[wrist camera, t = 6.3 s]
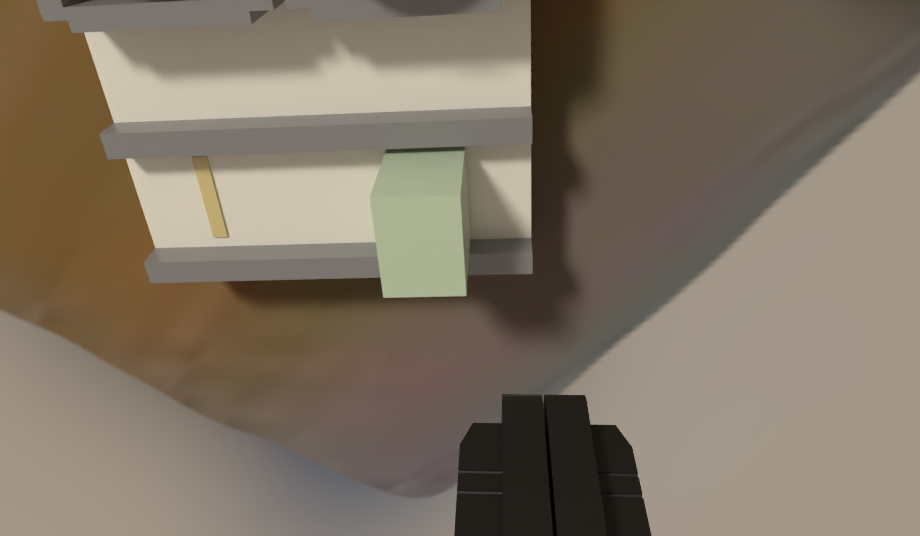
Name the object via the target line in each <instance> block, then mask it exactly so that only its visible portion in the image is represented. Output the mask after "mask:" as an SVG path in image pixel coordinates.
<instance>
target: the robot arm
mask: <svg viewBox="0 0 920 536" xmlns="http://www.w3.org/2000/svg"><path fill="white" fill-rule="evenodd" d="M458 470H459V472H458V486H457V502H456V518H455V536H651V532H650V527H649V523H648V518H647V513H646V509H645V504H644V500H643V499H642V491H641V486H640V481H639V478H638V472H637V468H636V463H635V458H634V454H633V449H632V446H631V445H630V444H629V443H628V441H627V440H626V439H625V438H624V436H623V435H622V433H621V432H620V431H619V429H618V428H617V427H616V425H590V420H589V413H588V407H587V401H586V397H585V395H544V404H543V401H542V395H519V394H502V423H473V424H472V425H471V427H470V429H469V430H468V432H467V434H466V435H465V437H464V439H463V440H462V442H461V444H460V453H459V469H458Z"/></svg>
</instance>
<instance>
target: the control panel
mask: <svg viewBox="0 0 920 536" xmlns="http://www.w3.org/2000/svg"><path fill="white" fill-rule="evenodd" d="M36 1H37V4H38V7H39V10H40V12H41V15H42V18H43V21H44V22H45V21H65V20H68V23H69V26H70V29H71V32H72V33H85V36H86V39H87V42H88V45H89V48H90V51H91V54H92V57H93V60H94V63H95V66H96V70H97V73H98V76H99V79H100V82H101V85H102V88H103V91H104V94H105V97H106V100H107V103H108V106H109V109H110V112H111V115H112V118H113V121H114V123H113V124H112V125H111V126H109V127H108V128H107V129H105V130H104V131H103V132H101V133H100V134H99V135H100V138H101V141H102V144H103V147H104V150H105V153H106V155H107V158H108V159H126V160H127V163H128V166H129V169H130V172H131V175H132V178H133V181H134V184H135V188H136V191H137V194H138V197H139V200H140V203H141V206H142V209H143V212H144V215H145V218H146V221H147V224H148V227H149V230H150V233H151V236H152V239H153V242H154V245H155V249H154V251H153V252H152V253H151V254H150V256H149V257H148V258H147V259H146V260H145V262H144V266H145V268H146V271H147V274H148V277H149V280H150V283H175V282H217V281H258V280H300V279H342V278H380V270H379V263H378V256H377V248H376V241H375V234H374V227H373V219H372V212H371V205H370V195H371V192H372V189H373V186H374V183H375V180H376V177H377V174H378V172H379V169H380V166H381V163H382V160H383V157H384V154H385V151H386V149H406V148H434V147H462V146H465V149H466V167H467V185H468V204H469V222H470V248H469V264H468V275H509V274H533V252H532V241H531V144H532V110H531V0H36Z"/></svg>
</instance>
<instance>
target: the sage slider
mask: <svg viewBox="0 0 920 536" xmlns="http://www.w3.org/2000/svg"><path fill="white" fill-rule="evenodd" d="M370 205H371V212H372V219H373V227H374V234H375V241H376V248H377V256H378V263H379V270H380V278H381V285H382V292H383V298H399V297H444V296H467V280H468V264H469V248H470V222H469V204H468V185H467V167H466V149H465V146H462V147H434V148H406V149H386V151H385V154H384V157H383V160H382V163H381V166H380V169H379V172H378V174H377V177H376V180H375V183H374V186H373V189H372V192H371V195H370Z"/></svg>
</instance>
